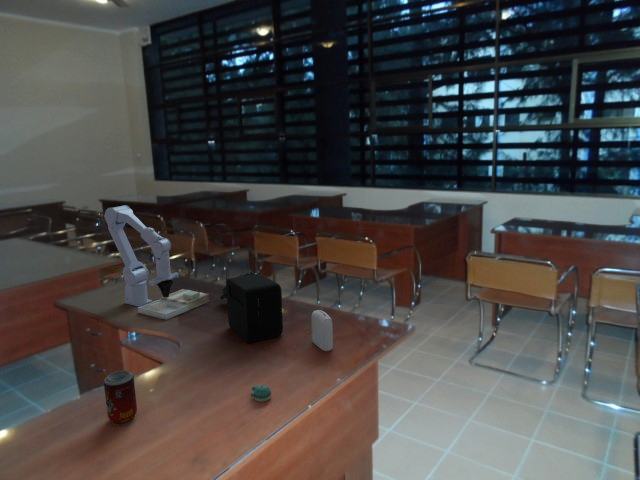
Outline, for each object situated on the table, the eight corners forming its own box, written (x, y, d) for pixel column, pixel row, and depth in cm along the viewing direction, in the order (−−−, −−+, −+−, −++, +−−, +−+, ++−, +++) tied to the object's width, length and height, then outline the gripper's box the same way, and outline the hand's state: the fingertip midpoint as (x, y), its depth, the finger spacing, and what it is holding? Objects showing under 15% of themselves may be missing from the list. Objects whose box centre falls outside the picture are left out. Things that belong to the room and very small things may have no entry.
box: (138, 313, 197) (137, 307, 196) (161, 304, 207) (160, 299, 207) (166, 320, 189) (166, 314, 188) (188, 310, 199) (188, 305, 198)
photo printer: (310, 341, 166) (309, 308, 164) (321, 339, 168) (320, 306, 165) (323, 352, 157) (322, 318, 154) (334, 350, 159) (334, 315, 156)
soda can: (103, 420, 120) (97, 376, 118) (129, 408, 126) (124, 366, 123) (116, 430, 116) (111, 385, 114) (143, 417, 121) (138, 374, 119)
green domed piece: (255, 405, 126) (254, 393, 125) (246, 393, 133) (245, 381, 132) (275, 399, 129) (274, 387, 128) (265, 388, 135) (265, 376, 134)
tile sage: (183, 298, 204) (182, 293, 204) (191, 294, 208) (191, 290, 208) (191, 300, 202) (191, 295, 201) (199, 296, 206) (199, 292, 205)
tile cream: (158, 301, 203) (158, 305, 204) (149, 305, 199) (149, 309, 200) (166, 303, 201) (166, 307, 201) (157, 306, 197) (157, 311, 197)
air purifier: (286, 336, 171) (284, 284, 167) (248, 345, 163) (246, 291, 159) (263, 319, 188) (261, 271, 184) (228, 327, 180) (225, 277, 176)
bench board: (161, 304, 207) (161, 297, 206) (183, 296, 218) (183, 289, 217) (187, 310, 199) (187, 302, 198) (209, 301, 210) (208, 294, 209)
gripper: (156, 272, 193) (159, 303, 196) (182, 264, 205) (184, 293, 208) (144, 270, 197) (147, 300, 199) (171, 262, 209) (173, 291, 212)
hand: (165, 296), depth 204 cm, fingers closed
